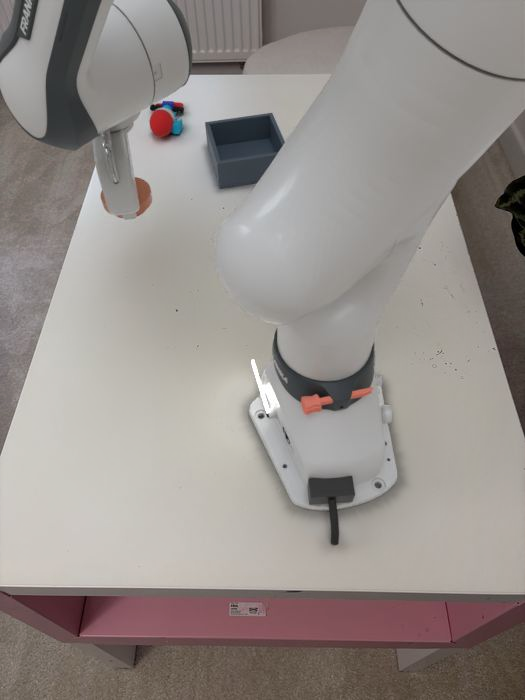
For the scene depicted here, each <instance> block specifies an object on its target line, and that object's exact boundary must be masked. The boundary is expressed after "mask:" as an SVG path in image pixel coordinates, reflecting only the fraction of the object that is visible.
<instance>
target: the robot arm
mask: <svg viewBox="0 0 525 700" xmlns="http://www.w3.org/2000/svg"><path fill="white" fill-rule="evenodd" d="M12 9H13V10H12V13H11V14H12V15H11V19H10V22H9V25H8V26H7V28H6V29H5V30H4V32H3V33H2V34H1V37H0V95H1V97H2V99H3V101H4V104H5V106H6V108H7V110H8V111H9V113H10V114H11V116H12V117H13V119H14V120H15V122H16V123H17V125H18V126H19V127H20V128H21V129H22V131H24V132H25V133H26V134H27V135H28V136H29V137H31V138H32V139H34V140H36V141H37V142H40V143H44V144H45V145H48V146H51V147H54V148H59V149H62V150H66V151H72V152H73V151H74V152H76V151H78V150H79V149H81V148H82V147H84V146H85V145H87V144H88V143H90V142H92V151H93V159H94V165H95V168H96V174H97V177H98V181H99V183H100V187H101V191H103V194H104V197H105V201H106V204H107V207H108V210H109V212H110V213H111V214H112V215H111V214H110V213H109V214H110V215H111V216H114V217H117V216H116V215H122V216H123V218H122V219H123V220H126V221H130V220H135V219H136V218H137V217H138V216H137V215H136V212H137V211H138V210H139V199H138V193H137V187H136V181H135V177H136V176H135V175H136V174H135V170H134V164H133V159H132V153H131V146H130V141H129V136H128V135H129V134H128V133H129V132H130V131H131V130H132V129H133V127H134V124H135V122H136V121H137V119H139V116H140V115H141V112H142V111H144V110H146V109H148V108H150V106H151V105H153V104H154V105H155V104H157V103H158V102H160V101H162V100H164V99H165V98H167V97H169V96H171V95H172V94H174V93H176V92H178V91H179V90H180V89H181V88H183V87H184V86H185V85H186V84H187V83H188V81H189V78H190V76H191V74H192V73H191V72H192V68H193V60H194V59H193V57H194V56H193V54H194V53H193V45H192V44H193V43H192V38H191V33H190V30H189V25H188V23H187V20H186V17H185V15H184V14H183V12H182V10H181V9H180V7H179V6H178V5H177V3H176V2H175V1H174V0H14V4H13V8H12ZM524 111H525V0H366V2H365V4H364V6H363V8H362V10H361V13H360V14H359V16H358V19H357V20H356V23H355V26H354V28H353V30H352V32H351V35H350V37H349V39H348V41H347V43H346V44H345V47H344V49H343V51H342V54H341V56H340V58H339V60H338V62H337V64H336V66H335V68H334V69H333V71H332V73H331V75H330V76H329V78H328V80H327V81H326V83H324V85H323V87H322V89H321V91H320V92H319V94H318V95H317V96H316V98H315V100H313V102H312V103H311V105H310V106H309V107H308V109H307V110H306V112H305V113H304V115H303V116H302V117H301V119H300V120H299V122H298V123H297V124H296V125H295V127H294V129H293V130H292V131H291V133H290V134H289V136H288V137H287V139H286V140H285V143H284V145H283V146H282V148H281V149H280V151H279V152H278V154H277V155H276V157H275V158H274V160H273V161H272V163H271V164H270V166H269V167H268V168H267V170H266V171H265V173H264V174H263V175H262V177H261V178H260V180H259V181H258V182H257V183H255V184H254V186H253V188H252V189H251V190H250V191H249V193H248V194H247V195H246V196H245V198H244V199H243V200H242V201H241V202H240V203H239V204H238V206H236V208H235V209H234V210H232V212H231V213H230V214H229V215H228V216H227V218H225V220H224V221H223V222H222V223H221V224H220V226H219V227H218V228H217V230H216V232H215V236H214V244H213V258H214V264H215V269H216V272H217V276H218V278H219V281H220V283H221V285H222V288H223V289H224V291H225V293H226V294H227V295H228V297H229V298H230V300H231V301H232V302H233V303H234V304H235V305H237V307H239V308H240V309H241V310H242V311H243V312H245V313H246V314H248V315H249V316H251V317H252V318H255V319H257V320H259V321H261V322H265V323H267V324H271V325H276V329H275V332H274V335H273V339H272V344H271V345H272V346H271V352H272V353H271V354H272V359H271V361H269V364H268V365H267V366H266V367H265V369H264V370H263V372H262V374H261V378H260V376H259V372H258V368H257V365H256V362H255V359H251V366H252V370H253V373H254V375H255V379H256V383H257V386H258V389H259V395H258V396H257V397H256V398H255V399H254V400H253V401H252V402H251V403H250V406H249V408H248V414H249V415H248V416H249V417H250V419H251V421H252V423H253V426H254V428H255V430H256V431H257V434H258V436H259V438H260V440H261V442H262V444H263V446H264V449H265V451H266V452H267V454H268V456H269V458H270V460H271V462H272V465H273V467H274V469H275V471H276V472H277V475H278V477H279V479H280V481H281V483H282V486H283V488H284V490H285V492H286V493H287V495H288V497H289V499H290V501H291V503H292V504H293V505H294V506H297V507H299V508H302V509H305V510H310V511H320V512H321V511H328V512H329V520H330V521H329V522H330V544H331V545H332V546H338V545H339V540H340V526H339V515H338V510H342V509H347V508H352V507H355V506H359V505H363V504H365V503H369V502H371V501H373V500H376V499H378V498H379V497H381V496H383V495H384V494H386V493H387V492H388V491H389V490H390V489H391V488H392V487H393V486H394V485H395V484H396V482H397V481H398V476H399V475H398V468H397V463H396V458H395V452H394V448H393V442H392V437H391V431H390V426H389V424H391V423H393V421H394V412H393V411H394V410H393V408H392V405H390V404H386V403H385V399H384V393H383V389H382V386H383V382H384V381H383V376H382V375H381V374H377V375H376V370H375V366H376V350H375V339H376V337H377V336H376V335H377V332H378V329H379V326H380V323H381V319H382V317H383V314H384V312H385V309H386V308H387V305H388V304H389V301H390V300H391V298H392V296H393V295H394V293H395V291H396V289H397V287H398V286H399V285H400V283H401V281H402V279H403V277H404V275H405V273H406V271H407V270H408V268H409V266H410V265H411V262H412V260H413V259H414V256H415V254H416V253H417V251H418V248H419V247H420V244H421V243H422V242H423V241H422V240H423V239H424V236H425V235H426V233H427V231H428V229H429V227H430V225H431V224H432V223H433V221H434V219H435V217H436V216H437V215H438V213H439V211H440V209H441V208H442V206H443V205H444V203H445V201H447V199H448V198H449V196H450V194H451V192H452V191H453V190H454V188H455V186H456V185H457V183H458V181H459V179H461V177H462V176H463V175H464V174H466V173H467V172H468V171H469V170H470V169H471V168H472V167H473V166H474V165H475V163H476V162H477V161H478V160H479V159H480V158H481V157H482V156H483V155H484V154H485V153H486V152H487V151H488V150H489V149H490V147H492V145H493V144H494V143H495V142H496V141H497V140H498V139H499V138H500V137H501V135H503V133H505V131H506V130H507V129H508V128H509V127H510V126H511V125H512V124H513V123H514V122H515V120H516V119H518V117H519V116H520V115H521V114H522V113H524ZM260 417H263V418H260ZM376 485H379V487H376Z"/></svg>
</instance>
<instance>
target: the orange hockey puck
mask: <svg viewBox="0 0 525 700" xmlns="http://www.w3.org/2000/svg"><path fill="white" fill-rule="evenodd" d="M135 181H136V187H137V193H138V199H139V210H138V211H137V212H136V215H137V217H139V216H141V215H143V214H144V213H145V212H146V211H147V209H148V208H150V207H151V205H152V203H153V200H154V199H153V192H152V188H151V186H150V184H149V182H147V181H146V180H145V179H143V178H141V177H137V176H135ZM100 201H101V203H102V206H103V208H104V210H105V212H107V214H110V215H111V216H113V215H112V214H111V213H110V212H109V210H108V207H107V204H106V201H105V197H104V194H103V191H102V190H101V192H100ZM115 217H117V218H120V219H124V218H123V216H122V215H116V216H115Z"/></svg>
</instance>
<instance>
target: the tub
mask: <svg viewBox="0 0 525 700" xmlns="http://www.w3.org/2000/svg"><path fill="white" fill-rule="evenodd" d="M204 127H205V128H204V129H205V134H206V135H205V136H206V137H205V138H206V145H207V150H208V153H209V157H210V161H211V164H212V168H213V171H214V174H215V178H216V181H217V185H218V189H220V190H222V189H229V188H235V187H241V186H248V185H253V184H254V185H255V184H257V182H258V181H259V180H260V178H261V177H262V175H263V174H264V173H265V171H266V170H267V168H268V167H269V166H270V164H271V163H272V161H273V160H274V158H275V157H276V155H277V154H278V152H279V151H280V149H281V148H282V146H283V145H284V143H285V142H286V140H285V139H284V137H283V134H282V132H281V130H280V128H279V127H280V126H279V125H278V123H277V120H276V117H275V116H274V114H273V112H268V113H267V112H266V113H261V114H260V113H259V114H254V115H246V116H238V117H232V118H225V119H217V120H211V121H205V122H204Z"/></svg>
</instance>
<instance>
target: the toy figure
mask: <svg viewBox="0 0 525 700" xmlns="http://www.w3.org/2000/svg"><path fill="white" fill-rule="evenodd" d="M149 110H150V111H151V112H152V113H151V115H150V117H149V128H150V130H151V132H152V134H153V135H155V136H156V137H159V138H164V137H166V136H168V135H169V134H170V133H172V134H173V135H179V134H180V133H181V132H182V130H183V128H184V127H183V126H184V125H183V119H182V118H180V119H179V120H178V118H176V117H177V116H178V114H179V113H181V114H183V113H184V111H185V108H184V103H183V102H180V101H179V102H177V101H173V100H163V101H162V102H161V103H158V102H157V103H154V104H153V105H151V106H149Z"/></svg>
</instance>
